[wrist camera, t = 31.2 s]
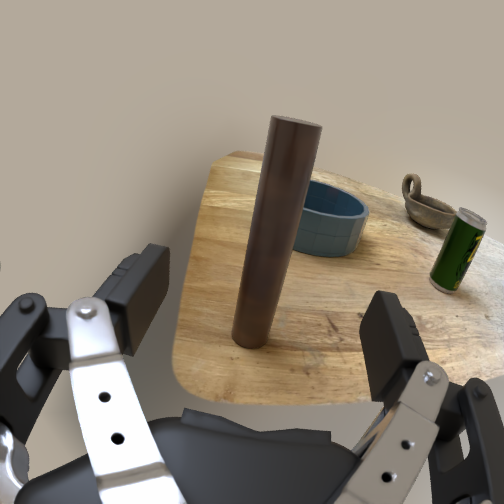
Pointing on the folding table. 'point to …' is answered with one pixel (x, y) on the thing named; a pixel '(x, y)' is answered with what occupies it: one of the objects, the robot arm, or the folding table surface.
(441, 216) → the bowl
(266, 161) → the brown wooden rod
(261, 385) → the folding table surface
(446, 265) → the beer can
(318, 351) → the folding table surface
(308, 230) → the mixing bowl
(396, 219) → the folding table surface
